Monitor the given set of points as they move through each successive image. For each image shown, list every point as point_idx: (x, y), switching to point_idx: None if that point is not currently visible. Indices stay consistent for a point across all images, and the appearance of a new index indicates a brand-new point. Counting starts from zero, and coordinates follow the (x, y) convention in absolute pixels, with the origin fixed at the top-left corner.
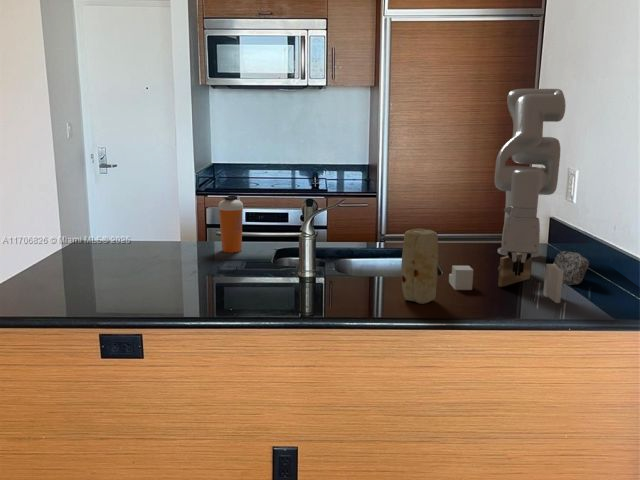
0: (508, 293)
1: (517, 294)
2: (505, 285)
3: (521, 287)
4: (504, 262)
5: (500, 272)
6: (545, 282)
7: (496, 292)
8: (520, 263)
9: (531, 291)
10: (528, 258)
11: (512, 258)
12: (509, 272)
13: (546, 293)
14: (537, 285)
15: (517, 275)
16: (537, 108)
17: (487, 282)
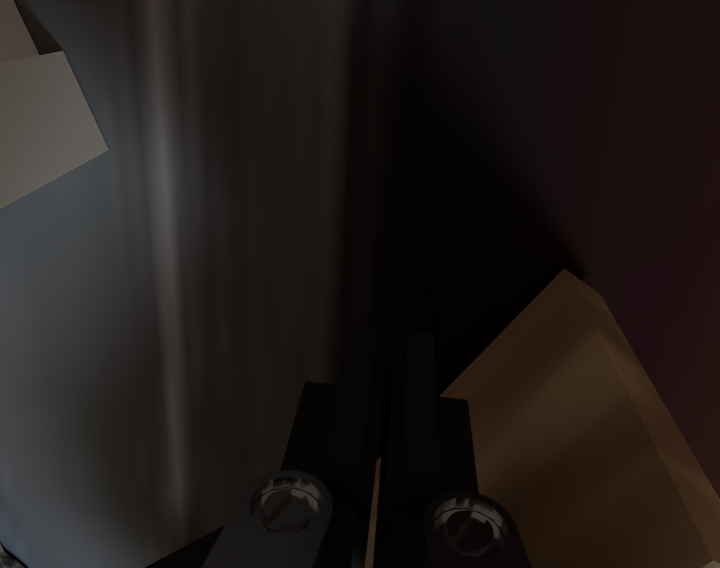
0: (505, 73)
1: (396, 63)
2: (512, 322)
3: (338, 344)
4: (650, 506)
5: (642, 386)
6: (2, 162)
7: (658, 72)
8: (344, 451)
9: (237, 232)
10: (162, 564)
11: (522, 556)
12: (488, 460)
13: (45, 66)
14: (189, 437)
15: (373, 513)
16: None
17: (679, 429)
